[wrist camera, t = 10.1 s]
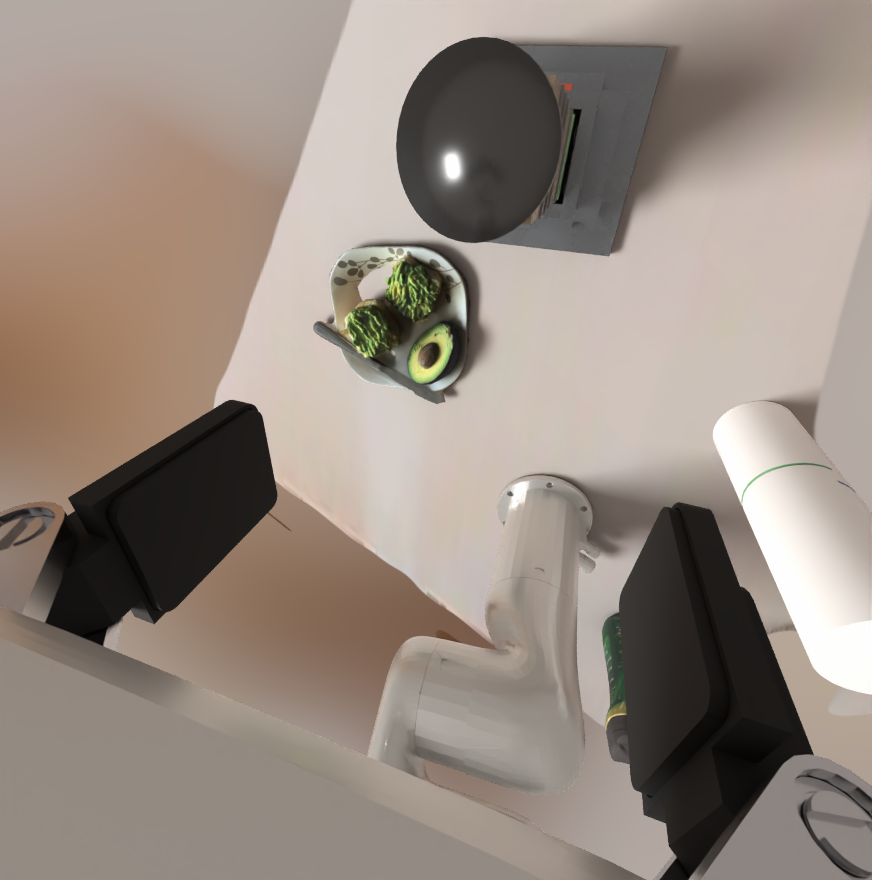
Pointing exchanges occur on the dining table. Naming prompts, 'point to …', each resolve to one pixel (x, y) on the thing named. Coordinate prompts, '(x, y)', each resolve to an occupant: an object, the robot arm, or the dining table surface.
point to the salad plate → (401, 319)
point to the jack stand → (594, 142)
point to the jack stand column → (483, 140)
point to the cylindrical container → (806, 535)
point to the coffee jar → (615, 691)
